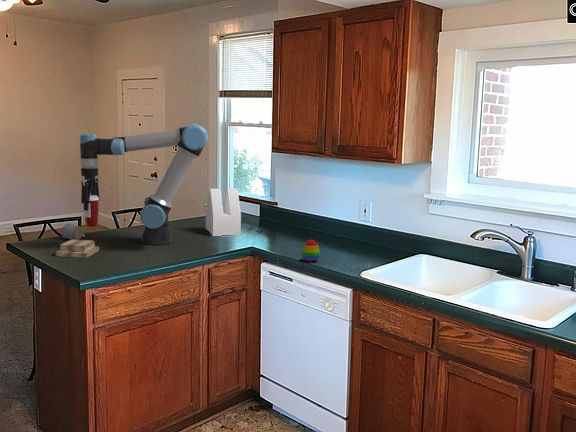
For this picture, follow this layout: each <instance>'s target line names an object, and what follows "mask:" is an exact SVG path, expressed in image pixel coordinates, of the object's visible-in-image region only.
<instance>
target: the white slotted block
mask: <svg viewBox="0 0 576 432" xmlns="http://www.w3.org/2000/svg"><path fill="white" fill-rule="evenodd" d="M222 197H223V196H222V189H221V188H209V191H208V197H207V202H206V208H205V230H206V229H207V230H208V231H209V232H210V233H211V234H212V235H211V234H210V233H209V234H210V235H211V237H213V236H222V235H240V236H241V229H242V228H241V227H242V211H241V205H240V204H241V203H240V197H239V191H238V188H236V187H235V188H226V191H225V196H224V200H223V198H222ZM222 237H223V236H222Z"/></svg>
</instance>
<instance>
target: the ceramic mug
mask: <svg viewBox="0 0 576 432" xmlns="http://www.w3.org/2000/svg"><path fill="white" fill-rule="evenodd" d="M61 236H62V237H63V238H64V239H67V240H71V239H72V240H82V238H85V236H86V235H85V234H84V229H83V228H82V227H81V226H79V225H76V224H72V223H65V224H63V227H62V228H61Z"/></svg>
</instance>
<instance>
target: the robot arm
mask: <svg viewBox="0 0 576 432" xmlns="http://www.w3.org/2000/svg"><path fill="white" fill-rule="evenodd" d="M208 141H209V134H208V131H207V129H206V128H205V127H204V126H203V125H202V124H200V123H199V124H197V123H192V124H189V125H187V126H183V127H178V128H177V129H176V130H175V129H174V130H168V131H167V130H166V131H160V132H151V133H144V134H136V135H135V134H134V135H127V136H126V135H125V136H118V137H117V136H114V137H112V138H98V135H97V134H96V133H82V134H80V136H79V149H80V150H79V151H80V160H79V162H80V167H81V168H80V172H81V173H80V175H81V176H82V177H84V178H83V179H84V180H82V181H80V184H81V196H80V201H81V204H83V203H84V207H83V215H84V216H83V217H84V218H85V217H91V215H90V203H89V200H90V195H95V196H98V198H99V201H100V191H99V189H100V187H99V178H96V177H98V176H99V168H98V167H99V157H98V155H99V156H101V155H102V156H123V155H124V154H125V153H128V152H129V153H130V152H136V151H137V152H138V151H145V150H152V149H153V150H154V149H162V148H170V147H171V148H172V147H176V148H177V151H176V152H175V155H174V157H173V158H172V160H171V162H170V164H169V166H168V168H167V170H166V171H165V173H164V175H163V177H162V179H161V181H160V182H159V185H158V187H157V188H156V190H155V191H154V192H155V193H153V194H150V195H149V196H147V197H145V198H144V202H143V203H144V204H143V205H144V206H143V207H142V209H141V210H140V213H139V217H140V219H139V220H140V221H141V223H142V224H143V226H144V228H143V231H142V234H141V238H140V242H141V244H144V245H149V246H162V245H163V246H165V245H168V244H171V243H172V240H173V239H172V238H173V237H172V235H171V232H170V228H169V213H170V212H171V209H172V208H173V205H172V200H173V199H174V197H175V195H176V193H177V192H178V189H179V188H180V185H181V183H182V182H183V180H184V179H185V177H186V175H187V173H188V171H189V169H190V168H191V165H192V163H193V161H195V159H196V158H199V157H200V156H201V153H202V152H203V150H204V148H205V147H206V145H207V143H208Z"/></svg>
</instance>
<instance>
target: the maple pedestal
mask: <svg viewBox="0 0 576 432" xmlns="http://www.w3.org/2000/svg"><path fill="white" fill-rule="evenodd" d="M59 246H60V247H59V248H60V249H58V250H56V251H55V256H56V257H63V258H65V257H67V258H83V259H86V258H89V257H90V256H93V255H94V254H96V253H97V252H99V251H100V246H97V245H95V240H89V239H88V240H87V239H79V240H72V239H68V240H66V241H64V242H63V243H61V244H59Z"/></svg>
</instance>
